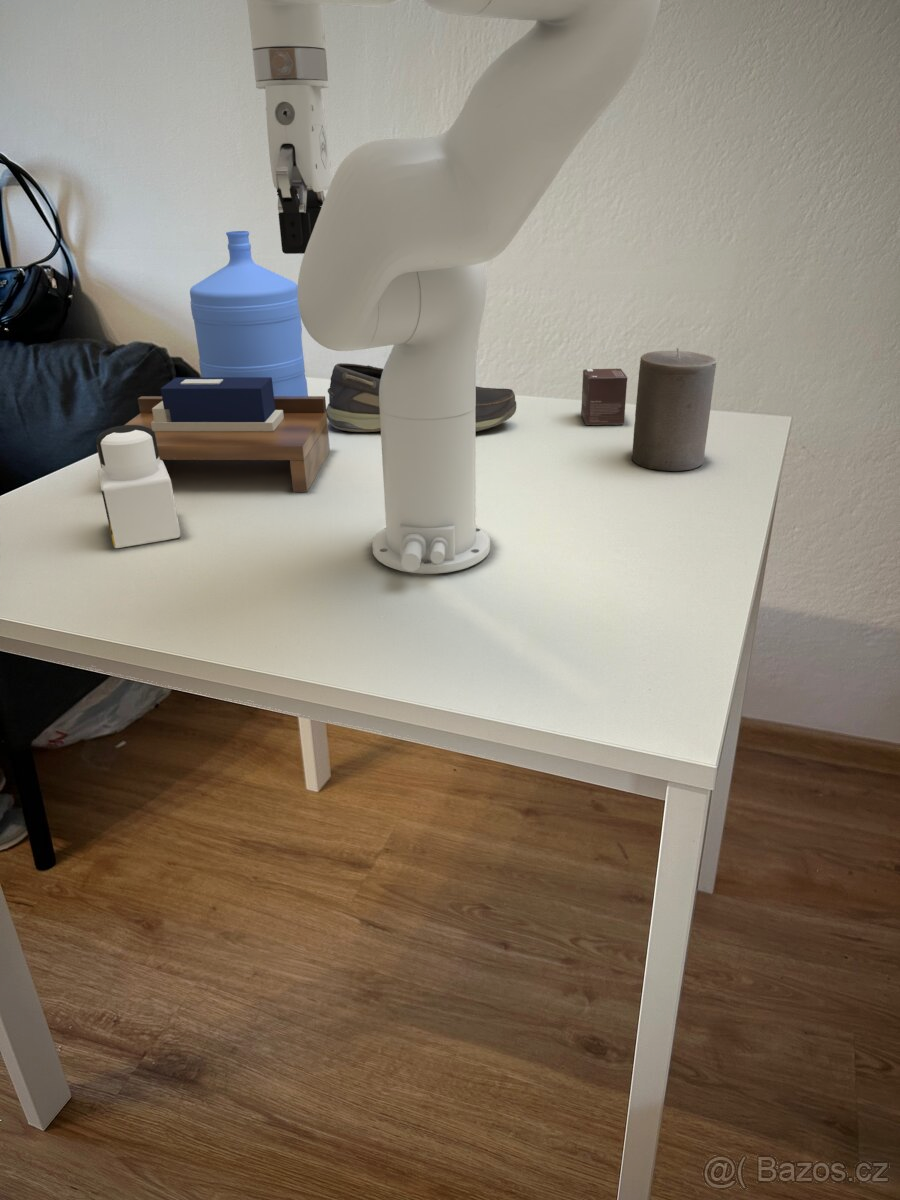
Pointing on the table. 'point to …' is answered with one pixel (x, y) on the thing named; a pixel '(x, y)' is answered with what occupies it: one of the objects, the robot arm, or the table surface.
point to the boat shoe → (360, 400)
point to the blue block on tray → (217, 405)
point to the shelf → (254, 439)
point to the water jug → (249, 322)
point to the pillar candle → (673, 409)
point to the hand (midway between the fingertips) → (306, 248)
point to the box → (603, 396)
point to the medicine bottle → (135, 487)
